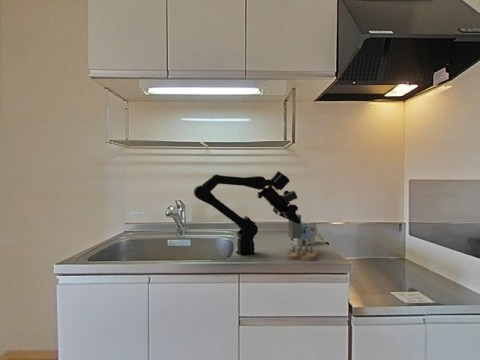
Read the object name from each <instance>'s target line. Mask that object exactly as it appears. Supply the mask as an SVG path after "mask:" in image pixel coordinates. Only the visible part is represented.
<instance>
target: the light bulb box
mask: <svg viewBox="0 0 480 360" xmlns="http://www.w3.org/2000/svg"><path fill="white" fill-rule="evenodd" d="M289 239H290V240H289V241H290V242H289V244H291V245H294V246H298V247H299V245H302V246H305V245H308V246H309V245H316V221H312V220H308V219H307V220H301V238H294V239H292V238H290V237H289Z"/></svg>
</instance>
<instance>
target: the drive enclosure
mask: <svg viewBox="0 0 480 360" xmlns="http://www.w3.org/2000/svg"><path fill="white" fill-rule="evenodd" d="M296 215H297V216H298V218H299V220H300V222H301V221H302V215H301V214H298V213H296ZM288 237H289V239H290V238H292V239H294V238H301V223H300V224H298V223H296V222H293V221H291V220H288Z"/></svg>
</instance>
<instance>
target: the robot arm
mask: <svg viewBox="0 0 480 360" xmlns="http://www.w3.org/2000/svg"><path fill="white" fill-rule="evenodd" d="M290 182H291V181H290V178H289V177H288V176H286V175H285V174H283V173H282V172H281V171H277V172H276V173H275V174H274V175H273V176H272V177H271V178H270V179H268V178H267V179H266V178H265V177H264V176H260V175H256V176H255V175H254V176H253V175H252V176H246V177H244V176H243V177H241V176H230V175H220V174H214V175H212V176H211V177H210V178H209V179H207V181H205V182H203V183H202V184H201V185H197V186H195V188H194V189H193V196H194V197H195V198H197V199H198V200H199V201H202V202H203V203H206V204H208V205H210V206H211V207H213V208H214V209H216V210H217V211H218V212H219V213H221V214H222V215H223V216H225V217H226V218H227V219H229V220H231V221H232V222H233V223H234V224H236V226H237V227H238V228H239V230H238V231H237V232H236V235H237V239H236V241H237V245H236V246H237V248H236V249H237V250H236V251H235V253H236V254H238V255H240V256H246V255H255V254H256V252H255V242H254V238H255V236H256V235H257V234H258V231H259V228H258V225H257V224H256V222H255V221H254V220H252V219H251V218H250V217H249V216H247V215H245V216H244V217H243V216H240V215H239V214H237V213H236V212H235V211H234V210H233V209H232V208H229V207H228V206H227V205H226V204H224V203H223V202H221V200H219V199H218V198H216V196H215V195H214V194H213V193H212V191H213V190H214V189H215V188H216V187H217V186H218V185H229V186H242V187H246V188H250V189H255V190H260V191H257V193H256V194H257V198H258V199H262V198H264V200H265V201H267V203H269V205H270V206H271V207H273V208H272V212H273V213H274V214H276V215H278V216H280V217H282V218H284V219H287V220H288V221H289V220H291V221H293V222H296V223H298V224H300V223H301V222H300V220H299V218H298V216H297V215H296V214H297V212H298V210H299V207H298V206H297V205H296V204H293V203H292V204H291V202H292V201H294V200H297V199H298V196H297V193H296V191H294V190H285V191H283V194H279V192H277V191H282V190H283V189H284V188H285V187H286V186H288V184H289V183H290Z"/></svg>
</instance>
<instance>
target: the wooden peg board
mask: <svg viewBox="0 0 480 360" xmlns="http://www.w3.org/2000/svg"><path fill="white" fill-rule="evenodd" d="M304 246H305V247H304V248H303V245H299V246H298V247H299V248H296V245H294V246H292V249H290V250H289V252H288V254H287V255H286V258H287V259H286V260H301V261H316V259H317V256H318V250H316V249H314V250H313V246H310V247H309V244H308V245H304Z"/></svg>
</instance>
